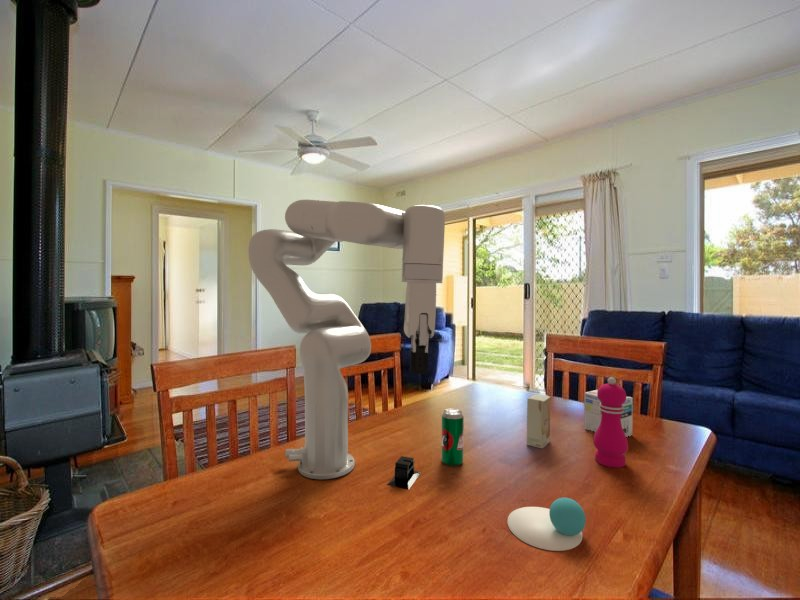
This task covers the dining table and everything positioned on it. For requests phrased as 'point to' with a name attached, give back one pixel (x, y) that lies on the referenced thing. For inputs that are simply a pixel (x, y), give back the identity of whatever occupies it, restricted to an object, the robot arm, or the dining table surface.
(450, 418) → the soda can
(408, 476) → the black box
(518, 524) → the white rounded object
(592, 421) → the light bulb box
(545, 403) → the skincare box
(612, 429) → the pepper mill
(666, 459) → the dining table surface
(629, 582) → the dining table surface
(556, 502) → the ball
